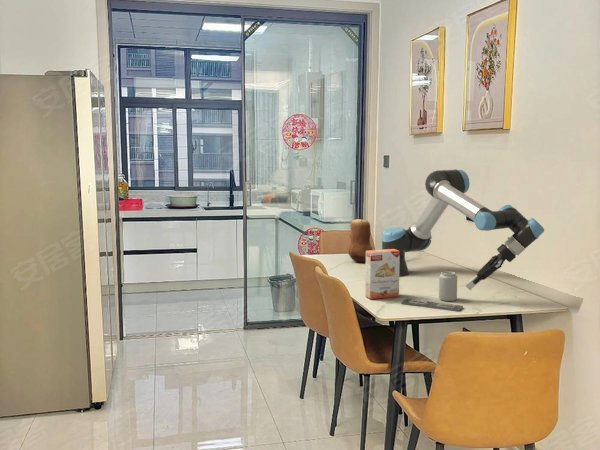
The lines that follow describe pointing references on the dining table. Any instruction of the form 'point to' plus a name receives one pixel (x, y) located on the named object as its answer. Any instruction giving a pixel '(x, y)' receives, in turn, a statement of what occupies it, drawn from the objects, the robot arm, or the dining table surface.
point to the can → (448, 286)
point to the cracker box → (382, 273)
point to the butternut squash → (359, 240)
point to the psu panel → (432, 305)
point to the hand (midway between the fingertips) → (467, 287)
